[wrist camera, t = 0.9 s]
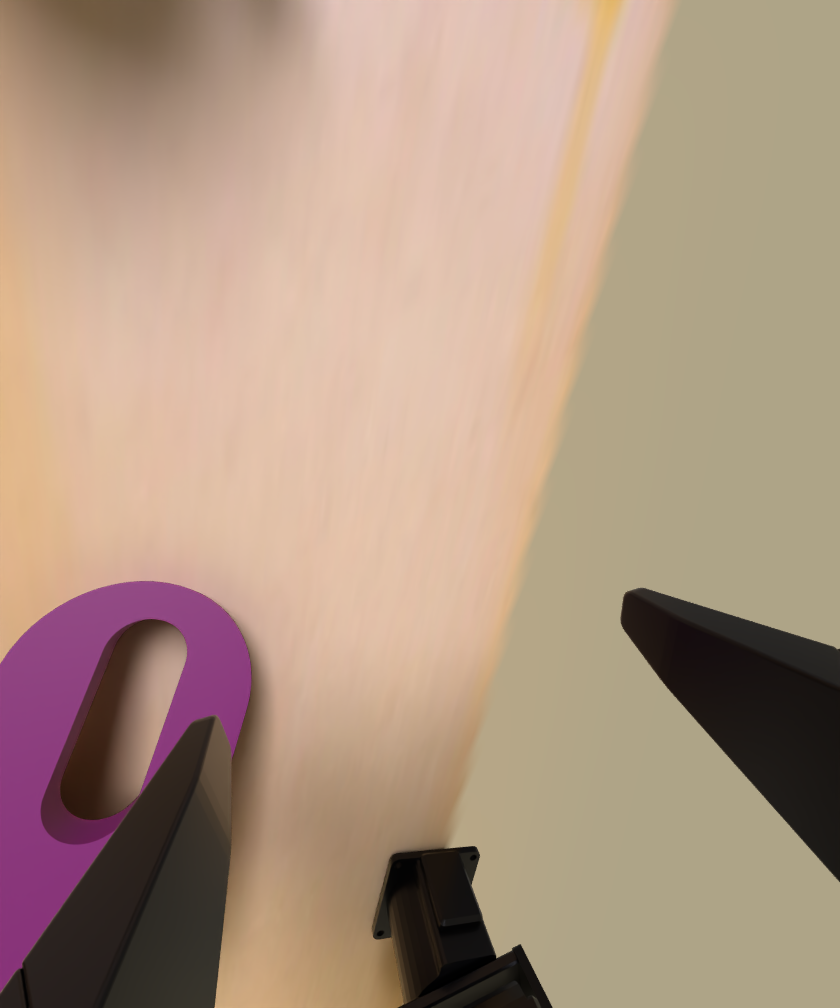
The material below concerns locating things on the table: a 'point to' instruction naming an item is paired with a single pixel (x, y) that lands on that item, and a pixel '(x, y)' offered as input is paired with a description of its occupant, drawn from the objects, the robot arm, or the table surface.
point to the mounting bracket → (58, 722)
